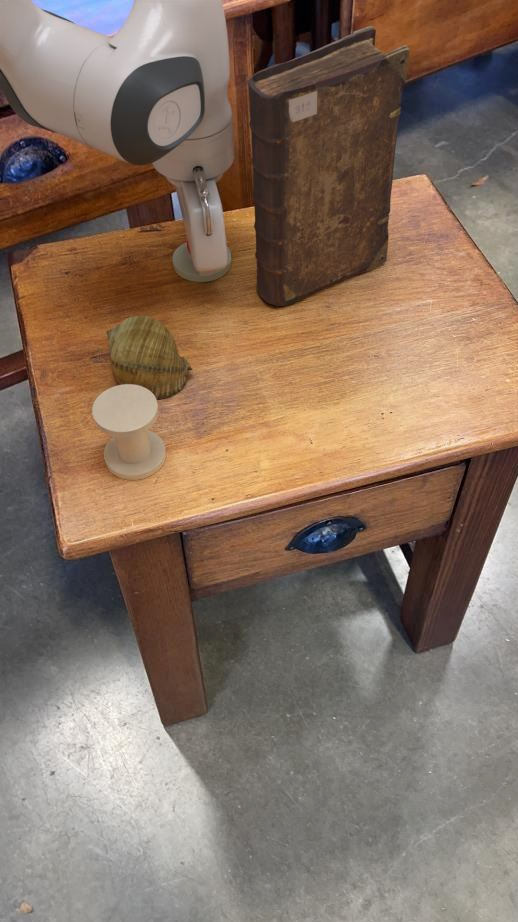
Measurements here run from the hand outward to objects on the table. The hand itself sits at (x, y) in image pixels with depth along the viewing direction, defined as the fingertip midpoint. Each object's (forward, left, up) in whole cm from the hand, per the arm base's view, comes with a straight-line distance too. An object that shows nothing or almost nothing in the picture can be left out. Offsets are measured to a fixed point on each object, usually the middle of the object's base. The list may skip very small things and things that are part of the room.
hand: (201, 254), depth 98 cm
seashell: (-8, -17, -2) cm, 19 cm away
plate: (0, 0, -1) cm, 1 cm away
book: (+13, -4, -2) cm, 14 cm away
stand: (-11, -28, -1) cm, 31 cm away
